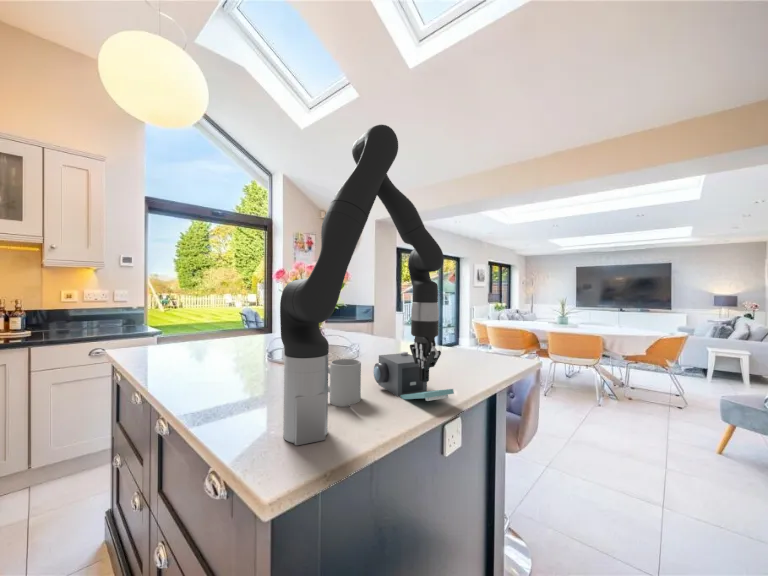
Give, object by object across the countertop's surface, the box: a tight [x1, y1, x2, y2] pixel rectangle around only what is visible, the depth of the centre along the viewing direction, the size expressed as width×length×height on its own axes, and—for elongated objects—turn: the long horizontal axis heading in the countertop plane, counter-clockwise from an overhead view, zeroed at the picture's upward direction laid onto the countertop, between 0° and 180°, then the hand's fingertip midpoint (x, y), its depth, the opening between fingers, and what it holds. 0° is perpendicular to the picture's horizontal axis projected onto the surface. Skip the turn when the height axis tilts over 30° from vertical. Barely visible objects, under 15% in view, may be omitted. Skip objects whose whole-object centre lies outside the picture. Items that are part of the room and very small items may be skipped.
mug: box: [328, 358, 362, 408], centre depth 92 cm, size 12×8×11 cm
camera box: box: [373, 351, 428, 397], centre depth 102 cm, size 13×13×11 cm
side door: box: [399, 388, 455, 402], centre depth 90 cm, size 2×9×13 cm
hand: (424, 381), depth 91 cm, fingers closed
